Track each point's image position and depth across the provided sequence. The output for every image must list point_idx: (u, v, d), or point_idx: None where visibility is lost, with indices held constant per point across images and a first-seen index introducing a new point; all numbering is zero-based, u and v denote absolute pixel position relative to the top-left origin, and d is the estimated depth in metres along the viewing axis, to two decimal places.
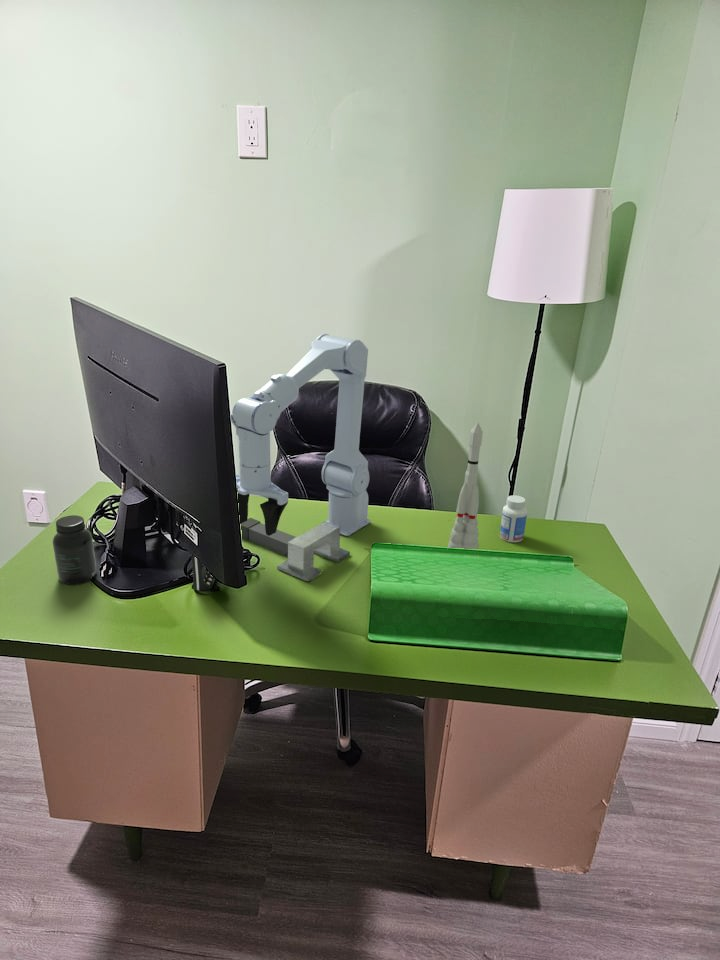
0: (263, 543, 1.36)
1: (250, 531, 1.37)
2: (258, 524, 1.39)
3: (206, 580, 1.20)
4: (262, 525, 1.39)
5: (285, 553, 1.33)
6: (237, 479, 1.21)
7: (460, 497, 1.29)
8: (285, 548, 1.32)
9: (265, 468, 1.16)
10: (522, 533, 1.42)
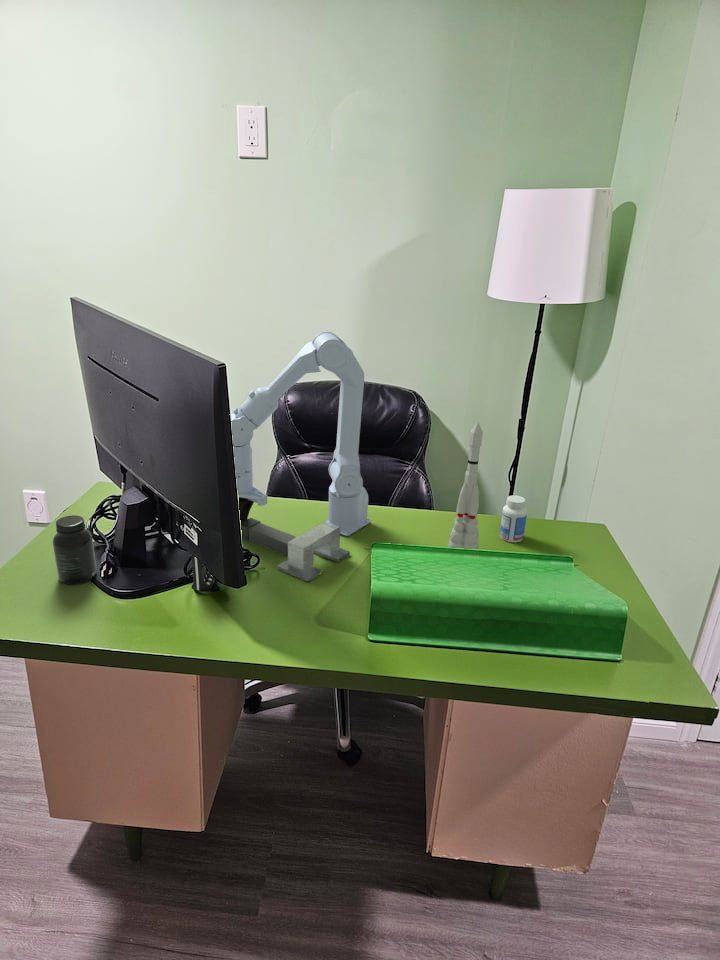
0: (263, 543, 1.36)
1: (250, 531, 1.37)
2: (258, 524, 1.39)
3: (206, 580, 1.20)
4: (262, 525, 1.39)
5: (285, 553, 1.33)
6: None
7: (460, 497, 1.29)
8: (285, 548, 1.32)
9: (247, 474, 1.35)
10: (522, 533, 1.42)
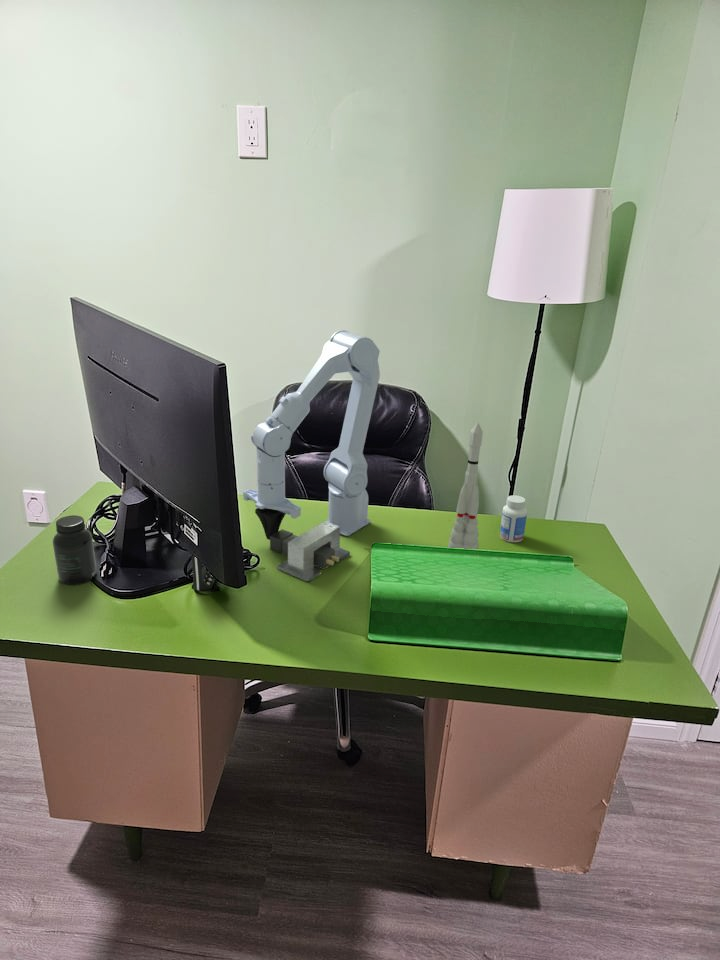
0: None
1: (284, 543, 1.33)
2: (291, 536, 1.35)
3: (206, 580, 1.20)
4: (295, 537, 1.34)
5: (323, 566, 1.29)
6: (255, 494, 1.35)
7: (460, 497, 1.29)
8: (323, 561, 1.28)
9: (280, 485, 1.30)
10: (522, 533, 1.42)
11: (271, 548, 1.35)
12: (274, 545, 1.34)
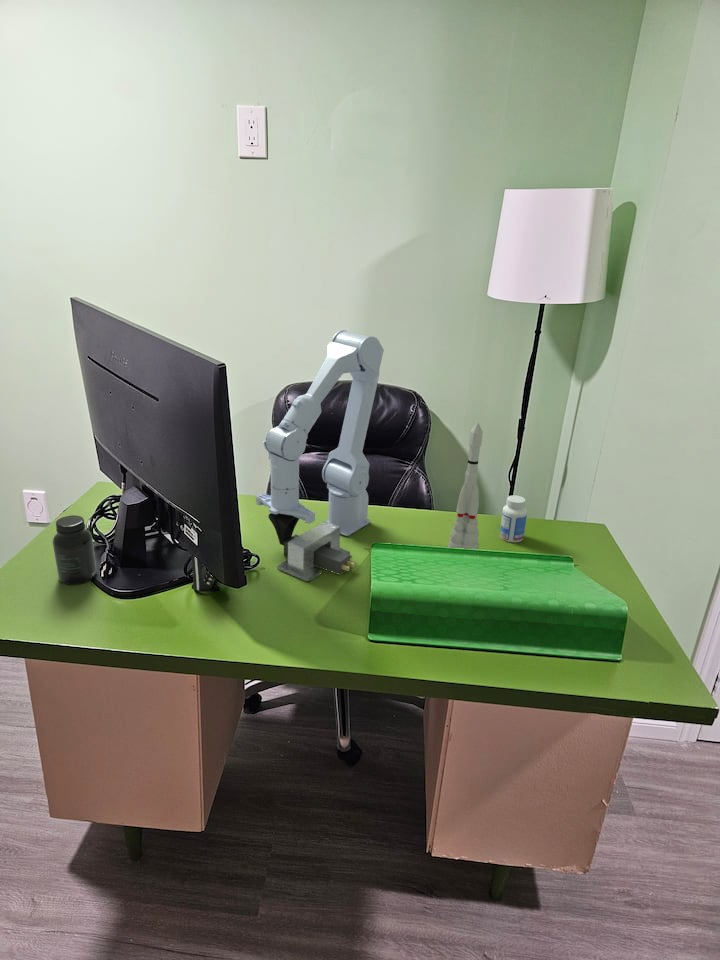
0: None
1: None
2: None
3: (206, 580, 1.20)
4: None
5: (338, 571, 1.27)
6: (268, 499, 1.33)
7: (460, 497, 1.29)
8: (338, 566, 1.26)
9: (294, 490, 1.28)
10: (522, 533, 1.42)
11: (285, 553, 1.33)
12: None
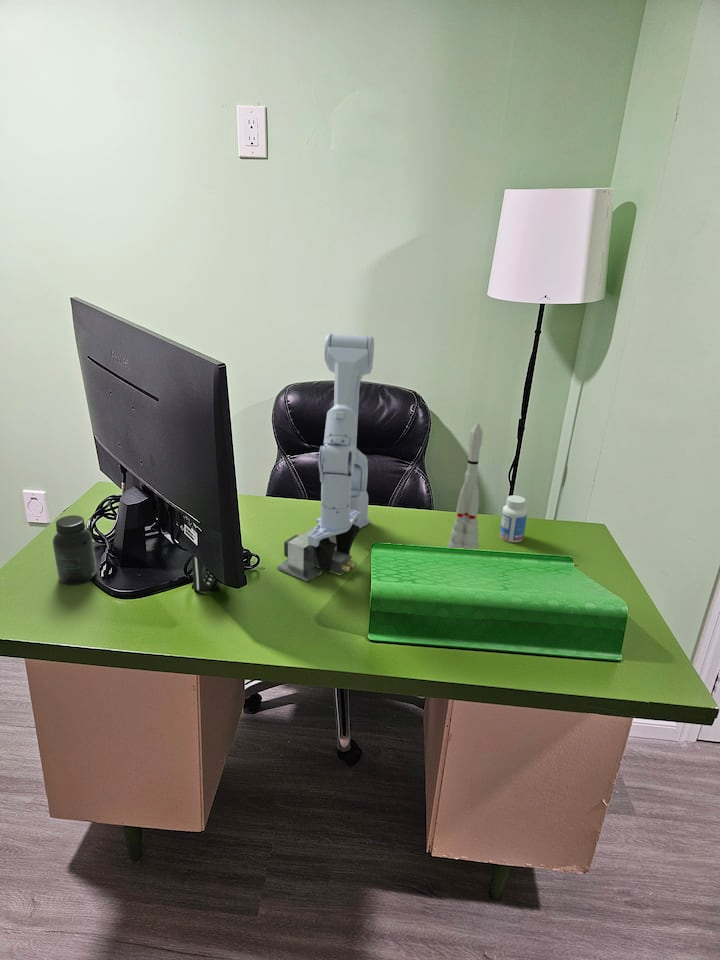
0: None
1: None
2: None
3: (206, 580, 1.20)
4: None
5: (338, 572, 1.27)
6: None
7: (460, 497, 1.29)
8: (338, 567, 1.26)
9: (325, 509, 1.21)
10: (522, 533, 1.42)
11: (285, 554, 1.33)
12: None
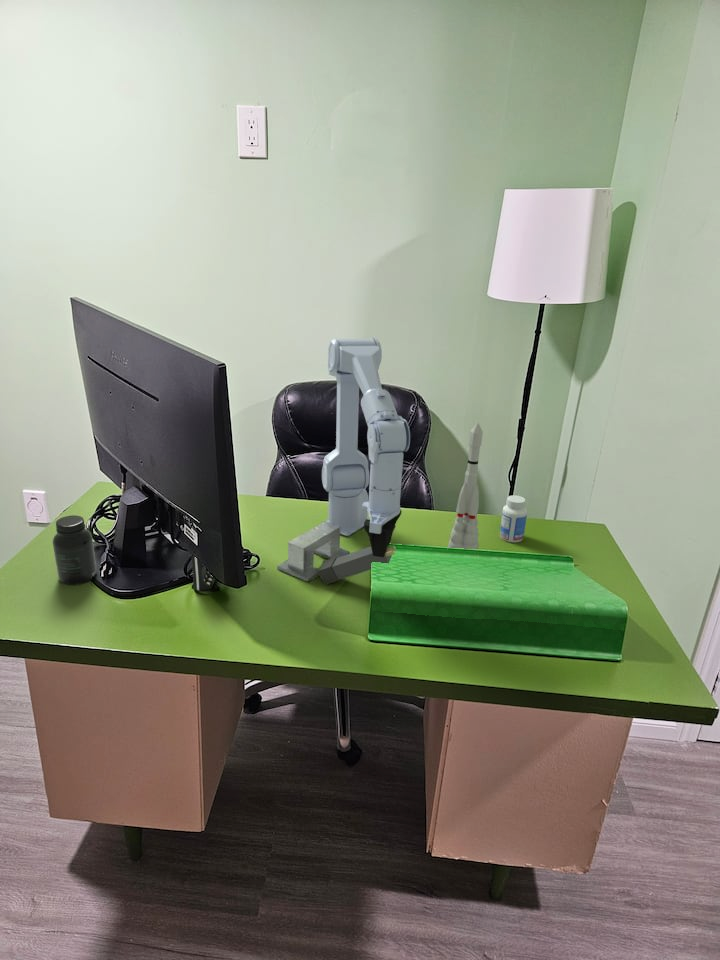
0: (356, 570, 1.21)
1: (335, 568, 1.22)
2: (337, 559, 1.24)
3: (206, 580, 1.20)
4: (341, 557, 1.24)
5: (385, 561, 1.18)
6: None
7: (460, 497, 1.29)
8: None
9: (380, 492, 1.12)
10: (522, 533, 1.42)
11: (325, 582, 1.23)
12: (326, 577, 1.22)
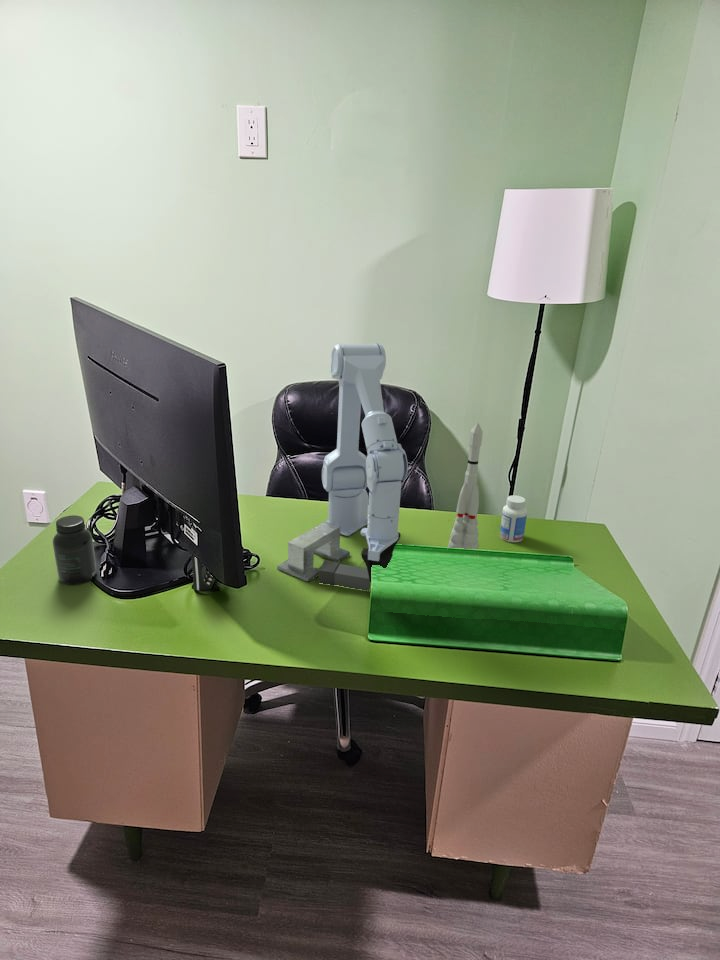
0: (355, 586, 1.22)
1: (337, 575, 1.22)
2: (339, 566, 1.24)
3: (206, 580, 1.20)
4: (345, 566, 1.24)
5: None
6: None
7: (460, 497, 1.29)
8: None
9: (378, 520, 1.14)
10: (522, 533, 1.42)
11: (320, 582, 1.23)
12: (324, 579, 1.23)
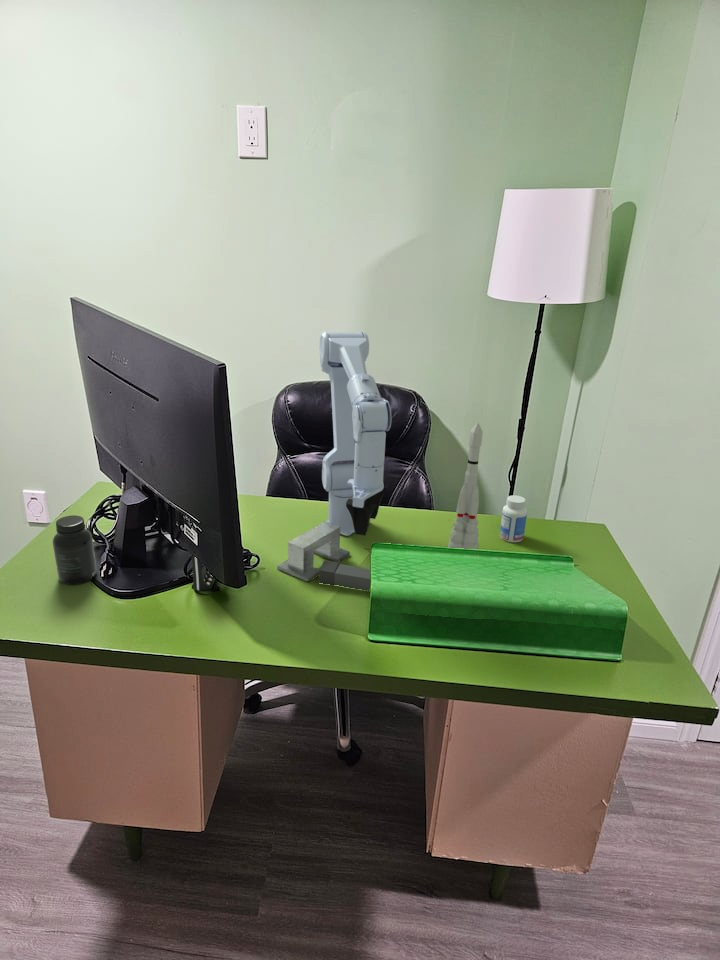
0: (355, 586, 1.22)
1: (337, 575, 1.22)
2: (339, 566, 1.24)
3: (206, 580, 1.20)
4: (345, 566, 1.24)
5: None
6: None
7: (460, 497, 1.29)
8: None
9: (364, 469, 1.19)
10: (522, 533, 1.42)
11: None
12: (324, 579, 1.23)
